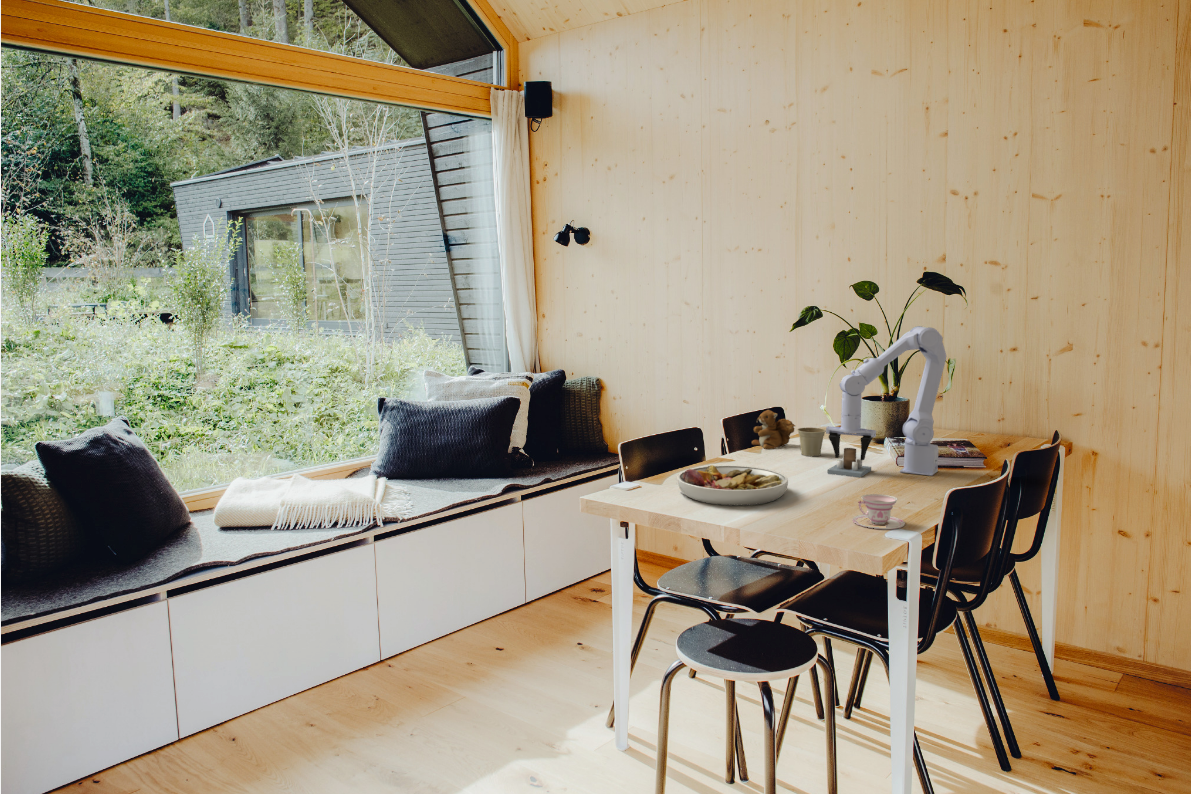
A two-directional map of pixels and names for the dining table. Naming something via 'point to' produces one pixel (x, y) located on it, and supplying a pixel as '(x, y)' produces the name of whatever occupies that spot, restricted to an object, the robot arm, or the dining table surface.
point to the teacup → (879, 511)
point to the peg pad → (855, 472)
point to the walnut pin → (849, 458)
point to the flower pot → (811, 440)
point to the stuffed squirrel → (773, 431)
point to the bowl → (732, 485)
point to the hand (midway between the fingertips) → (849, 458)
